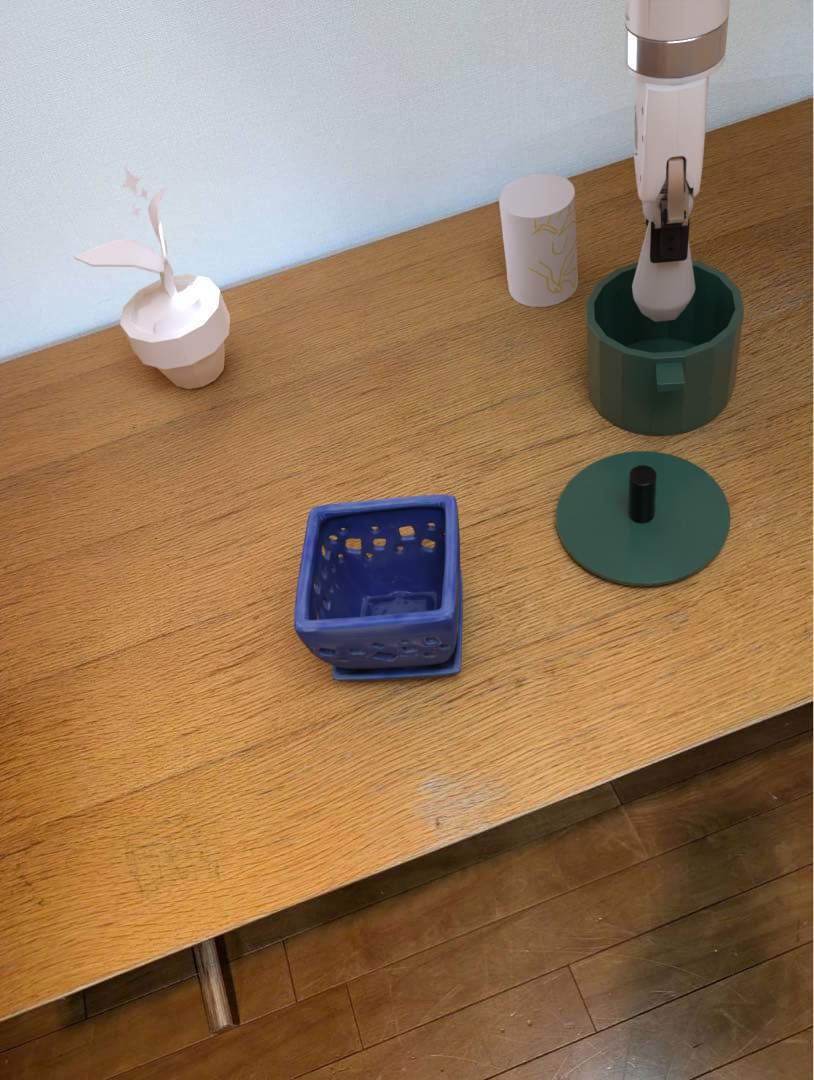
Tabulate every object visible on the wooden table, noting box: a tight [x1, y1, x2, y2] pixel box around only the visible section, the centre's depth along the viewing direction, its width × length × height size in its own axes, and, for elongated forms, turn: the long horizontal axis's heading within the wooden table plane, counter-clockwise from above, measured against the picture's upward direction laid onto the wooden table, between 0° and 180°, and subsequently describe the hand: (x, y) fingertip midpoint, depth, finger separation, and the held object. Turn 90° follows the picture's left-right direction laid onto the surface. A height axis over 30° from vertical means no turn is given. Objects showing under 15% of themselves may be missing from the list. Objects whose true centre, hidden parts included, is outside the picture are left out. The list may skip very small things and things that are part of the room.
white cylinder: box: [498, 172, 579, 308], centre depth 112 cm, size 8×8×12 cm
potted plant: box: [73, 166, 231, 390], centre depth 107 cm, size 13×12×25 cm
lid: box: [555, 450, 731, 587], centre depth 91 cm, size 16×16×7 cm
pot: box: [585, 259, 745, 437], centre depth 99 cm, size 15×20×10 cm
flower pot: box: [293, 494, 464, 682], centre depth 85 cm, size 13×13×12 cm
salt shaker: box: [632, 185, 695, 322], centre depth 91 cm, size 6×6×13 cm
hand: (666, 240), depth 90 cm, fingers closed on salt shaker, 4 cm apart
